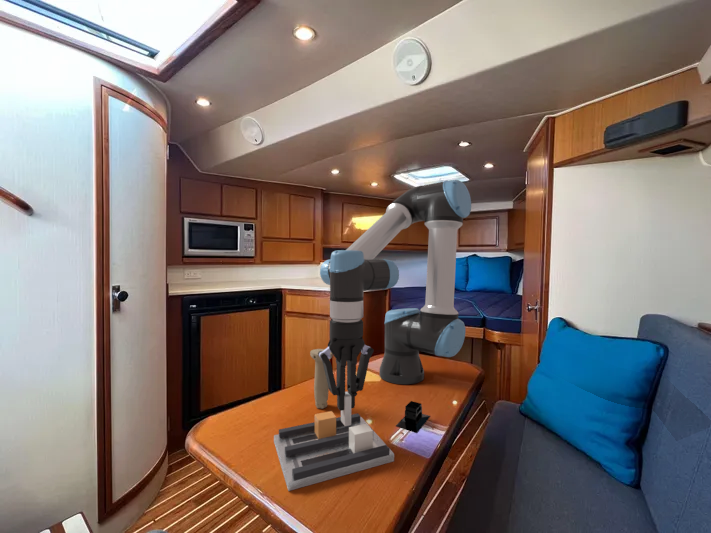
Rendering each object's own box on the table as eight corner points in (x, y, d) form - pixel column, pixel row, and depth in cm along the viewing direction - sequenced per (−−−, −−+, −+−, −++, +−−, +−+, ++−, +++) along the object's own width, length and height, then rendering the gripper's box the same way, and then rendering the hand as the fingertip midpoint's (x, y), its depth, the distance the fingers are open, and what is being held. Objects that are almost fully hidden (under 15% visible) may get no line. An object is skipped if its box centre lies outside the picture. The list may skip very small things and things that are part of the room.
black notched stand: (417, 439, 72) (417, 419, 72) (388, 429, 76) (388, 411, 76) (435, 416, 82) (435, 399, 82) (409, 409, 86) (409, 392, 86)
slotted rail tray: (358, 418, 77) (358, 413, 77) (389, 454, 63) (389, 448, 63) (278, 434, 70) (278, 429, 70) (293, 480, 55) (294, 473, 55)
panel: (361, 422, 78) (361, 416, 78) (394, 461, 63) (394, 453, 63) (273, 441, 70) (273, 434, 70) (288, 491, 55) (288, 482, 55)
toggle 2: (366, 442, 67) (366, 423, 67) (372, 450, 64) (372, 430, 64) (348, 446, 65) (348, 427, 65) (354, 454, 63) (354, 434, 62)
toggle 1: (331, 428, 72) (331, 411, 72) (336, 435, 70) (336, 417, 69) (314, 432, 71) (314, 414, 71) (318, 439, 68) (318, 420, 68)
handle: (323, 413, 82) (323, 356, 82) (306, 406, 87) (306, 351, 86) (336, 407, 86) (336, 352, 86) (319, 400, 90) (319, 347, 90)
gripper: (365, 314, 77) (364, 410, 78) (313, 317, 72) (313, 420, 73) (380, 319, 71) (379, 424, 71) (323, 324, 65) (323, 437, 66)
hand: (345, 422), depth 72 cm, fingers closed
